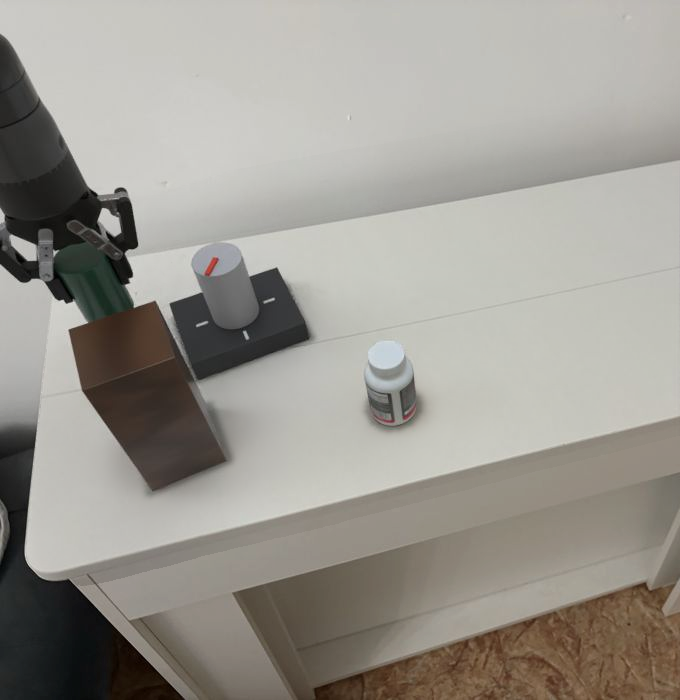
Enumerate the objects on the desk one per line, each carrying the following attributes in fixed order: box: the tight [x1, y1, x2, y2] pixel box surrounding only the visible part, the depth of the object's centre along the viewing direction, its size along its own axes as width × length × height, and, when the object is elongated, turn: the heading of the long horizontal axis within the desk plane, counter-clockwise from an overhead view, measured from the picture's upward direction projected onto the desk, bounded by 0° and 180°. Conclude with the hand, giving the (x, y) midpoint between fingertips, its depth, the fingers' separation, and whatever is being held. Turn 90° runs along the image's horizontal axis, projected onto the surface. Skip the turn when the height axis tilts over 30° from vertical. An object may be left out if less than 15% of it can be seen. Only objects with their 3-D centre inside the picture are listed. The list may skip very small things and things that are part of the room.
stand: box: [67, 300, 227, 492], centre depth 71 cm, size 8×8×18 cm
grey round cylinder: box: [190, 241, 259, 329], centre depth 84 cm, size 6×6×9 cm
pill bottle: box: [363, 339, 418, 427], centre depth 78 cm, size 5×5×10 cm
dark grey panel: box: [168, 266, 310, 381], centre depth 88 cm, size 14×11×3 cm
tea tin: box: [53, 242, 135, 323], centre depth 75 cm, size 5×5×8 cm
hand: (97, 288), depth 76 cm, fingers closed on tea tin, 5 cm apart
